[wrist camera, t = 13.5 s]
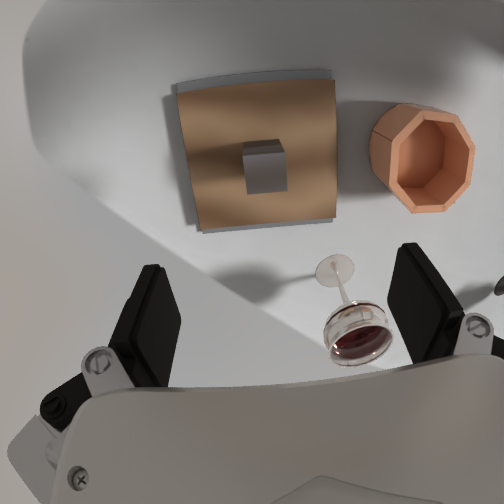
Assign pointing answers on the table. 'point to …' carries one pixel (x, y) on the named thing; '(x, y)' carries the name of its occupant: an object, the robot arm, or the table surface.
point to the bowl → (422, 156)
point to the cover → (261, 151)
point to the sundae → (500, 287)
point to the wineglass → (352, 320)
